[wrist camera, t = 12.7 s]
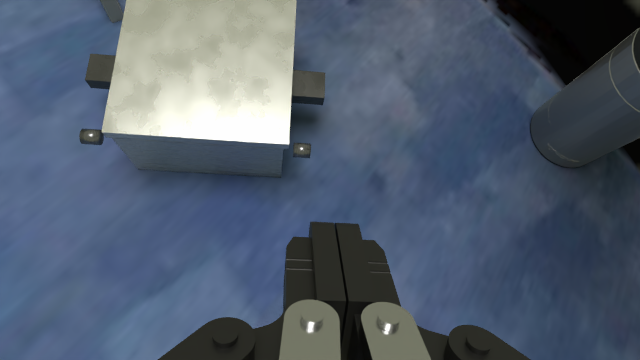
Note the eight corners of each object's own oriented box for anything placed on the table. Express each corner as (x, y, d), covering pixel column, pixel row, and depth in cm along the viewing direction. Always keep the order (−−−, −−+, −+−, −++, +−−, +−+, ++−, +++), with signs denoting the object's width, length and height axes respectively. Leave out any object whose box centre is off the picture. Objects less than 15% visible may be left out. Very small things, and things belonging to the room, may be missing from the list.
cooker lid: (288, 149, 44) (289, 144, 43) (106, 137, 42) (101, 132, 41) (297, -24, 50) (297, -32, 49) (138, -40, 48) (135, -48, 47)
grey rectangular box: (315, 185, 52) (325, 155, 43) (100, 173, 50) (62, 139, 41) (318, 59, 58) (328, 10, 48) (123, 43, 55) (95, -13, 46)
